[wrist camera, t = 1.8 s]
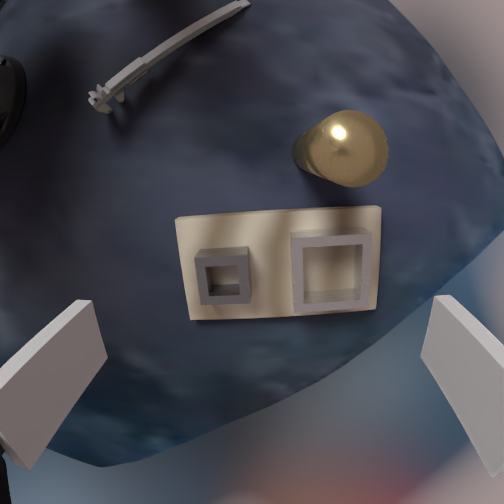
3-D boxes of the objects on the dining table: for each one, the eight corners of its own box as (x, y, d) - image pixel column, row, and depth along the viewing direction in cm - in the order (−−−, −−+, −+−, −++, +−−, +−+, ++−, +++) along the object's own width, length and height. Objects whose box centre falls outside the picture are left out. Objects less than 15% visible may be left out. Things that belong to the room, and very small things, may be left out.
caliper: (111, 114, 31) (83, 109, 25) (107, 108, 31) (78, 102, 25) (251, 5, 27) (247, -21, 21) (245, 0, 26) (240, -27, 20)
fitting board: (376, 205, 32) (391, 212, 28) (372, 303, 36) (383, 321, 32) (178, 217, 34) (166, 226, 30) (193, 313, 38) (184, 332, 33)
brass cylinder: (290, 132, 31) (310, 110, 16) (331, 131, 30) (385, 111, 15) (293, 173, 32) (316, 188, 17) (334, 171, 32) (389, 186, 16)
